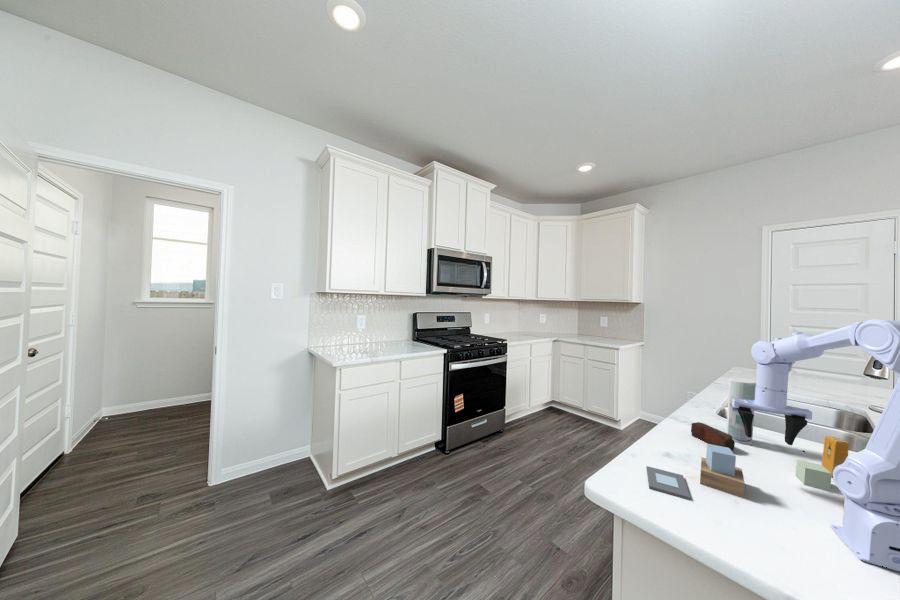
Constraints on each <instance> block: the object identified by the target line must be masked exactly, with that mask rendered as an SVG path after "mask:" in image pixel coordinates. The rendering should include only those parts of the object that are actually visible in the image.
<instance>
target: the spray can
mask: <svg viewBox="0 0 900 600" xmlns="http://www.w3.org/2000/svg"><path fill="white" fill-rule="evenodd" d="M755 389H756V380H755V381H754V380H752V379H749V378H743V377H733V376H732V377H729V379H728V394H727V396H728V397H727V415H726V419H727V421H726V433H727V434H729V435H731V436H732V439H733V440H734V442H735V443H737V444H741V443H742V444H741V445H747V444H749V445H752V444H753V435H754V434H753V433H754V424H755V423H754V422H755V410H751V411H752V414H753V415H754V417H753V422H752V436H751V438H750V437H747V436H746V435H745V429H744V425H743V422H742V419H741V417H740V415H739V413H738V411H737V409H736V408H734V407H733V406H732V398H733V399H743V400H755ZM751 443H752V444H751Z"/></svg>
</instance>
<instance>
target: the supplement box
mask: <svg viewBox="0 0 900 600" xmlns="http://www.w3.org/2000/svg"><path fill="white" fill-rule="evenodd" d="M823 439H824V441H823V448H822V449H823V450H822V459H821V465H822V466H823V467H825V468H826V469H827V470H828V471H829V472H830V473H831V479H832V478H833V470H834V469H835V467H837V466H838V465H841V464H843V463H844V462H845V460H846V458H847V457H848V456H849V449H850V448H849V447H850V442H848V441H846V440H844V439H841V438H839V437H836V436H830V435H824V438H823Z"/></svg>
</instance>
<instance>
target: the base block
mask: <svg viewBox="0 0 900 600" xmlns="http://www.w3.org/2000/svg"><path fill="white" fill-rule="evenodd" d="M699 484H700V485H703V486H706V487H707V488H711V489H713V490H717V491H719V492H724V493H726V494H730V495H732V496H735V497H738V498H741V499H744V498H745V478H744V472H743V468H740V467H737V466H735V476H731V475H727V474H722V473H718V472H713V471H711V470H710V468H709V467H708V465H707V463H706V457H702V456H701V462H700V479H699Z"/></svg>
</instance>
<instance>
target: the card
mask: <svg viewBox="0 0 900 600" xmlns="http://www.w3.org/2000/svg"><path fill="white" fill-rule="evenodd" d="M646 473H647V474H646V475H647V482H648V489H650V490H655V491H657V492H660V493H664V494H667V495H670V496H675V497H678V498H682V499H685V500H689V501H691V495H690V493H689V490H688V487H687V484H686V481H685V477H684V475H683V474H679V473H675V472H671V471H667V470H664V469H661V468H657V467H653V466H648V465H646Z"/></svg>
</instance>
